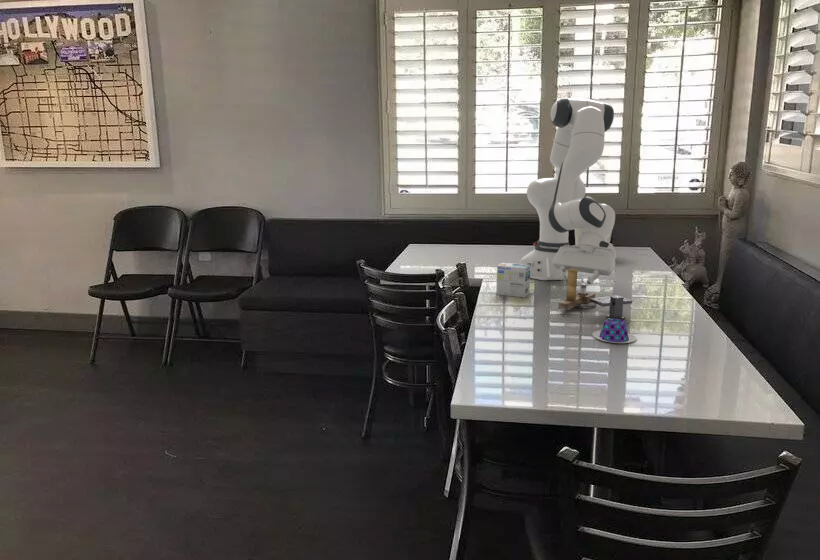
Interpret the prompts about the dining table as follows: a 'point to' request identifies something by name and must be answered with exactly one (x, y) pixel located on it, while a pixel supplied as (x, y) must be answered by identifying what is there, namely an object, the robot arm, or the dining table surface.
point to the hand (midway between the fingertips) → (575, 281)
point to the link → (573, 293)
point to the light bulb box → (513, 279)
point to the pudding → (614, 332)
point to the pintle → (583, 292)
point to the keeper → (612, 305)
